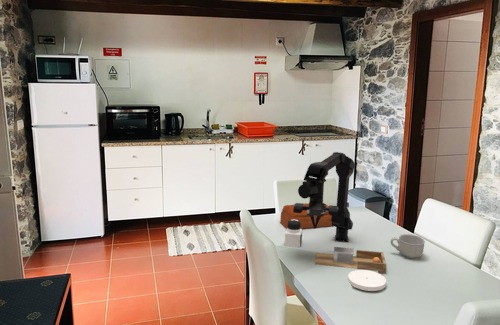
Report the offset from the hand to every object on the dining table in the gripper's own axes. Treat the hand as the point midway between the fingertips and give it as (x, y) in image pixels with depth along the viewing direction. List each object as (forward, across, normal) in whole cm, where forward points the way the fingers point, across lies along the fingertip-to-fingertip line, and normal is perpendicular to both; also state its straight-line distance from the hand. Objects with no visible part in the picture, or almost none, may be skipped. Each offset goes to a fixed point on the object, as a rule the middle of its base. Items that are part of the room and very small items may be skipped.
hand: (315, 228), depth 178 cm
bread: (+13, -6, +41) cm, 43 cm away
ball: (+10, +26, -4) cm, 28 cm away
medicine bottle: (+13, -10, +10) cm, 19 cm away
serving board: (+13, +15, -4) cm, 20 cm away
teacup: (+13, +40, +11) cm, 44 cm away
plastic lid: (+14, +21, -20) cm, 32 cm away
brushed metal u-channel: (+10, +8, -4) cm, 13 cm away
